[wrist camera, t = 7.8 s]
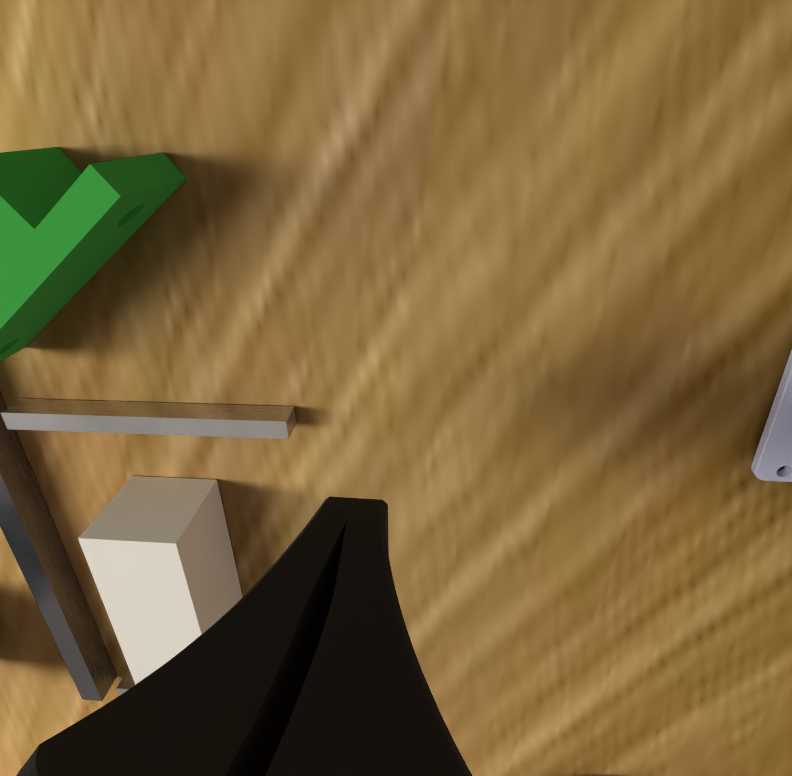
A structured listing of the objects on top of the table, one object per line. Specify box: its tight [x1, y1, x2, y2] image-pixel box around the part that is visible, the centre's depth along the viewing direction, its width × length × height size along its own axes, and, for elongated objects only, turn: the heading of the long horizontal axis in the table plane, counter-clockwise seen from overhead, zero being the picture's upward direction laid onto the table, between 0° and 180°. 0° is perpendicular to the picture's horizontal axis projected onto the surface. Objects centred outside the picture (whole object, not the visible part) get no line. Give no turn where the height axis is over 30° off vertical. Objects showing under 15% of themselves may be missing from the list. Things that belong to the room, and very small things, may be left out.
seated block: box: [78, 476, 243, 685], centre depth 25 cm, size 4×11×4 cm, turn 1°
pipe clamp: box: [0, 147, 187, 361], centre depth 18 cm, size 10×4×4 cm, turn 129°
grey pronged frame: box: [0, 394, 296, 701], centre depth 22 cm, size 14×37×2 cm, turn 1°
